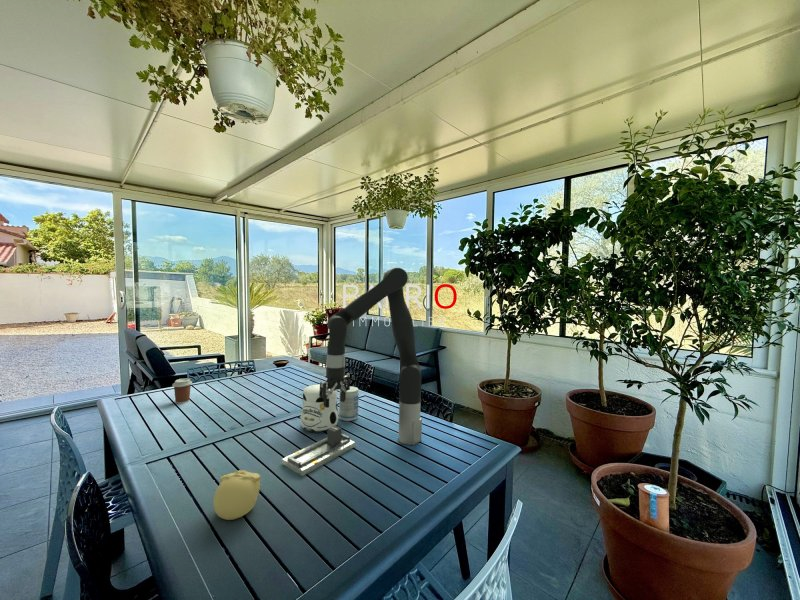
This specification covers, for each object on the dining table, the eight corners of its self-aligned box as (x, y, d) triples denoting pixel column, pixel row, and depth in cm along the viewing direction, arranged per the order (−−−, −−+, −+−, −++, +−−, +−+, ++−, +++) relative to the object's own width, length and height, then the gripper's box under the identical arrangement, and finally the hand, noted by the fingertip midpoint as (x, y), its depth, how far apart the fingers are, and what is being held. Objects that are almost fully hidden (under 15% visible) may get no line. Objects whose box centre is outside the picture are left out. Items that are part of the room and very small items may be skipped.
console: (335, 438, 137) (335, 430, 137) (355, 446, 130) (355, 438, 130) (282, 464, 116) (282, 455, 116) (302, 476, 109) (302, 466, 109)
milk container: (299, 437, 137) (300, 396, 136) (301, 420, 154) (301, 384, 153) (339, 433, 142) (340, 393, 141) (337, 417, 158) (337, 382, 158)
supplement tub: (358, 421, 155) (358, 391, 154) (338, 422, 153) (339, 392, 153) (358, 413, 164) (358, 385, 164) (339, 414, 163) (340, 386, 162)
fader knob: (334, 439, 131) (334, 425, 131) (341, 442, 129) (341, 427, 129) (327, 443, 128) (327, 428, 128) (333, 446, 126) (334, 431, 125)
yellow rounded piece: (265, 496, 98) (265, 462, 98) (247, 525, 86) (247, 487, 86) (227, 496, 98) (227, 462, 97) (205, 525, 86) (205, 487, 85)
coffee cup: (174, 399, 177) (174, 378, 177) (193, 397, 181) (193, 377, 181) (170, 405, 169) (170, 383, 169) (190, 403, 173) (190, 381, 173)
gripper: (328, 369, 120) (327, 411, 120) (354, 363, 131) (353, 401, 132) (315, 366, 124) (314, 406, 125) (342, 360, 136) (341, 397, 136)
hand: (334, 404), depth 128 cm, fingers open, 8 cm apart
